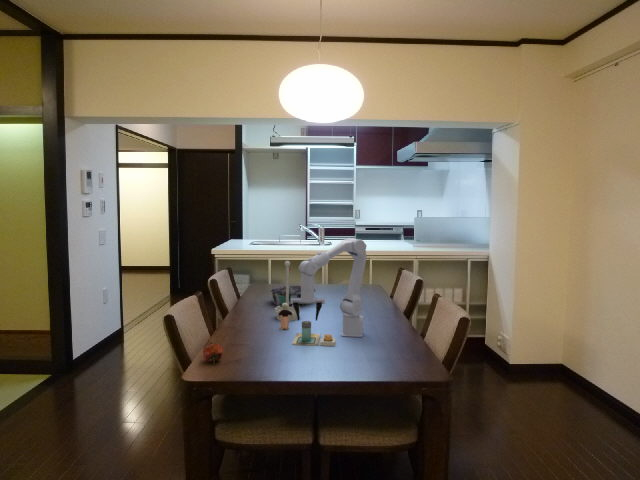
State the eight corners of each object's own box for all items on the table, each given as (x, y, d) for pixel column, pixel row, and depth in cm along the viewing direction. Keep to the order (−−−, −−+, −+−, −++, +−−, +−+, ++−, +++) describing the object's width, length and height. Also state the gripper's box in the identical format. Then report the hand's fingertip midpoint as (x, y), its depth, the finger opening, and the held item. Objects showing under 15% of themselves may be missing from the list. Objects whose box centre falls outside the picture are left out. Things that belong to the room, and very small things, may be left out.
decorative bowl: (321, 309, 250) (322, 292, 249) (275, 310, 239) (277, 292, 238) (305, 299, 273) (307, 284, 273) (263, 300, 262) (264, 284, 262)
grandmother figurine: (278, 330, 202) (278, 304, 201) (276, 328, 206) (276, 302, 205) (294, 329, 205) (294, 303, 203) (292, 327, 208) (292, 301, 207)
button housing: (335, 341, 188) (335, 337, 188) (334, 346, 182) (335, 342, 181) (321, 341, 188) (321, 337, 188) (320, 345, 182) (320, 342, 182)
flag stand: (296, 322, 217) (296, 263, 214) (271, 320, 219) (271, 262, 216) (302, 315, 229) (302, 259, 227) (279, 314, 232) (278, 258, 229)
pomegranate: (225, 368, 163) (224, 346, 170) (222, 358, 157) (221, 335, 165) (204, 371, 161) (204, 349, 168) (201, 361, 156) (201, 338, 163)
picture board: (320, 335, 196) (320, 333, 196) (318, 345, 182) (318, 343, 182) (296, 334, 197) (296, 332, 197) (292, 344, 183) (292, 342, 183)
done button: (332, 339, 186) (332, 334, 186) (331, 342, 183) (331, 336, 183) (324, 339, 186) (324, 334, 186) (324, 341, 183) (324, 336, 183)
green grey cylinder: (311, 339, 189) (311, 321, 188) (310, 341, 184) (311, 323, 184) (301, 338, 189) (302, 320, 188) (301, 341, 185) (301, 323, 184)
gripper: (324, 287, 188) (324, 317, 190) (291, 286, 188) (291, 317, 189) (324, 290, 181) (324, 321, 183) (290, 290, 181) (290, 321, 182)
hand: (307, 319), depth 186 cm, fingers open, 7 cm apart
